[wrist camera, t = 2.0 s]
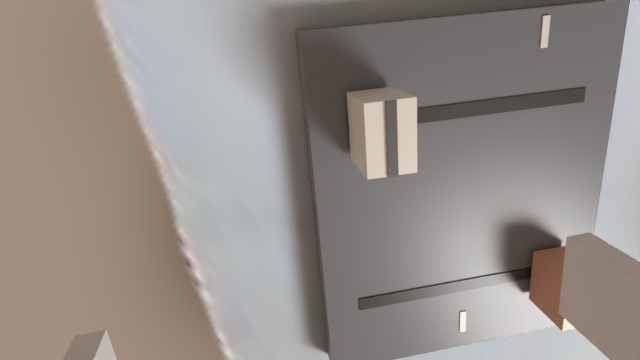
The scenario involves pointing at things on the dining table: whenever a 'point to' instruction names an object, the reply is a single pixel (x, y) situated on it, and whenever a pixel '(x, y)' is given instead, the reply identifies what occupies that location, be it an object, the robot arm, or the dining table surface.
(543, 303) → the terracotta fader
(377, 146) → the white fader
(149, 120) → the dining table surface
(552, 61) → the fader panel
